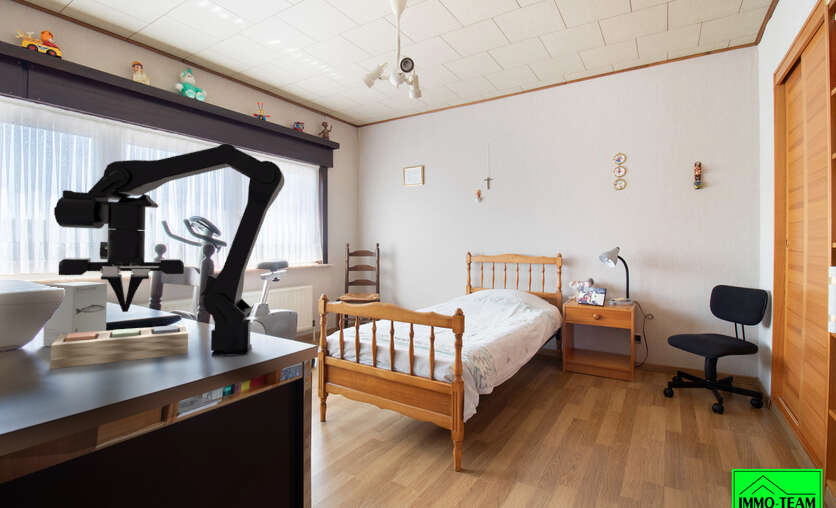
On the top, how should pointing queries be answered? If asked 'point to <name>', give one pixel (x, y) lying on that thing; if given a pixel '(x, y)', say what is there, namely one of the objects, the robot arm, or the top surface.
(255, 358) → the top surface
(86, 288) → the supplement box
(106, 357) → the wooden slotted block
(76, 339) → the key terracotta
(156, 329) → the key slate
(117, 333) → the key sage
